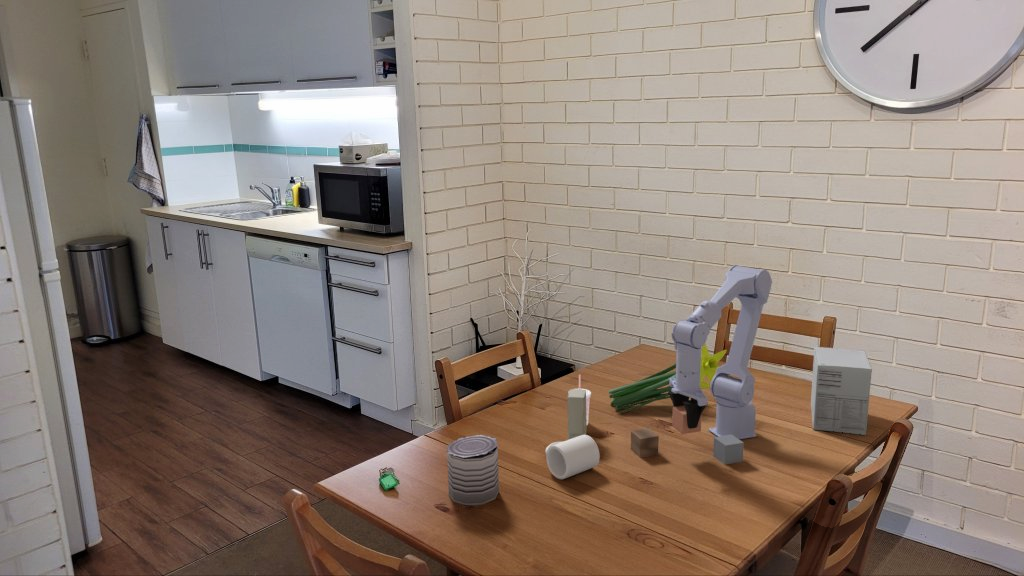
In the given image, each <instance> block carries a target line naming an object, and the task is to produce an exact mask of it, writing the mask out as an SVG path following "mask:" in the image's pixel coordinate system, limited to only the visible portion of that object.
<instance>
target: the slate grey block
mask: <svg viewBox="0 0 1024 576" xmlns="http://www.w3.org/2000/svg"><path fill="white" fill-rule="evenodd" d="M744 444H745V443H744V442H743V441H742V439H738V438H736V437H735V436H733V435H732V434H731V435H725V436H719V437H718V436H714V437H713V446H712V447H713V448H712V449H713V450H712V453H713V454H712V457H714V458H715V459H716V460H718V461H719V462H721V464H723V465H730V464H731V465H732V464H736V463H741V462H742V463H743V460H744V446H745V445H744Z"/></svg>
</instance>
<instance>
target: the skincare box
mask: <svg viewBox="0 0 1024 576" xmlns="http://www.w3.org/2000/svg"><path fill="white" fill-rule="evenodd" d="M576 389H577V388H570V389H569V390H568V392H569V393H568V392H567V393H568V394H567V397H566V399H567V402H566V403H567V440H569V439H572V438H575V437H578V436H581V435H587V434H588V433H587V429H588V428H587V426H588V425H587V422H586V390H576Z"/></svg>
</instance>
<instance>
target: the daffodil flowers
mask: <svg viewBox="0 0 1024 576" xmlns="http://www.w3.org/2000/svg"><path fill="white" fill-rule="evenodd" d="M727 351H728V349H724V350H720V351H718V352H716V353H715V354H713V355H712V354H711V356H710V352H709V349H708V347H707V345H706V343H705V344H704V345H703V346H702V347H701V373H700V388H701V389H708V388H709V389H710V384H711V381H712V379H713V377H714V375H715V373H716V370H717V368H718V367H720V365H718V363H719V362H720V361H721V360H722V359H723V357H724V356H725V355H726V353H727ZM674 370H675V371H674ZM728 376H730V377H731V375H728ZM706 377H707V379H708V381H709V382H710V383H709V382H707V381H704V379H705V378H706ZM670 378H676V363H675V364H673V365H671V366H669V367H667V368H665V369H662V370H661V371H659V372H656V373H654V374H652V375H649V376H648V377H647V376H646V377H644V378H642V379H640V380H637V381H635V382H632V383H631V382H630V383H629V384H625V385H621V386H618V387H615V388H612V389H608V391H607V392H608V394H609V396H608V397H609V399H611V401H610V406H611V407H612V406H613V407H614V408H615V407H616V408H615V411H620V410H621V411H620V414H625V413H626V412H629V411H633V410H636V409H637V408H641V407H643V406H646V405H649V404H651V403H653V402H656V401H661V400H667V399H671V398H670V396H669V394H668V391H671V390H672V388H674V387H671V386H669V379H670ZM665 386H666V387H665ZM623 409H624V410H623Z"/></svg>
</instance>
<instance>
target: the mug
mask: <svg viewBox="0 0 1024 576" xmlns="http://www.w3.org/2000/svg"><path fill="white" fill-rule="evenodd" d="M544 452H545V457H546V458H545V460H546V464H547V467H548V469H549V471H550V473H551V474H552V475H553V476H554V477H555V478H556V479H558V480H564V479H567V478H570V477H572V476H575V475H578V474H580V473H583V472H586V471H588V470H590V469H593V468H595V467H597V466H598V464H599V462H600V457H601V456H600V450H599V447H598V444H597V442H596V441H595V440H594V438H592V437H591V436H590V435H588V434H586V435H581V436H578V437H575V438H572V439H569V440H568V439H566V440H564V441H555V442H552V443H550V444H549V445H547V446H546V448H545V451H544Z"/></svg>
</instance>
